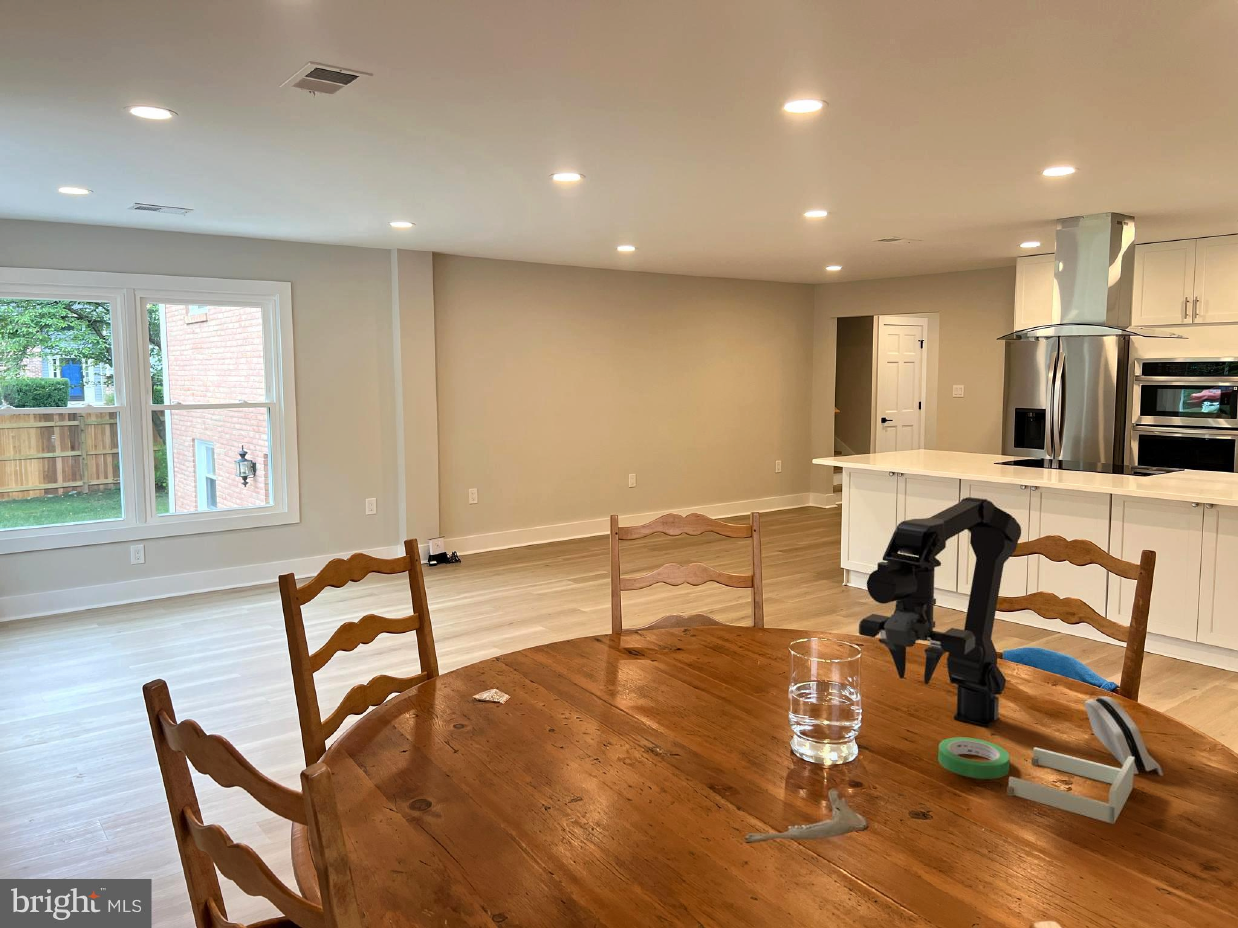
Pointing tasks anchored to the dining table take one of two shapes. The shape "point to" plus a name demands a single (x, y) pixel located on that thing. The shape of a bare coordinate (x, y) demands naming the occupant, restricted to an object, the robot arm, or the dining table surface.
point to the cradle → (1073, 802)
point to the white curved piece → (1119, 733)
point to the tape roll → (973, 768)
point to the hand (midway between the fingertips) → (914, 680)
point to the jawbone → (821, 824)
